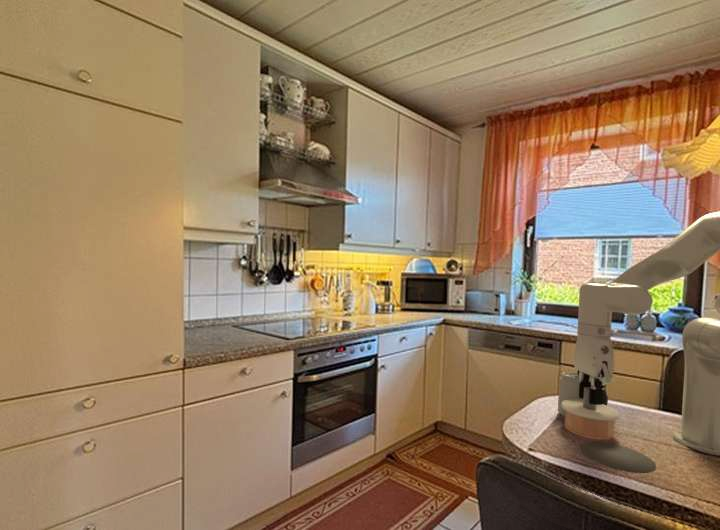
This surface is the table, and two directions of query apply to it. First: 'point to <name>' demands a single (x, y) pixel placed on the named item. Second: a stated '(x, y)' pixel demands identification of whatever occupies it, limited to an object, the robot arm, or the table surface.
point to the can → (568, 389)
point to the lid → (589, 408)
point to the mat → (618, 457)
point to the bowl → (589, 427)
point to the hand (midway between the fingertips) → (590, 400)
